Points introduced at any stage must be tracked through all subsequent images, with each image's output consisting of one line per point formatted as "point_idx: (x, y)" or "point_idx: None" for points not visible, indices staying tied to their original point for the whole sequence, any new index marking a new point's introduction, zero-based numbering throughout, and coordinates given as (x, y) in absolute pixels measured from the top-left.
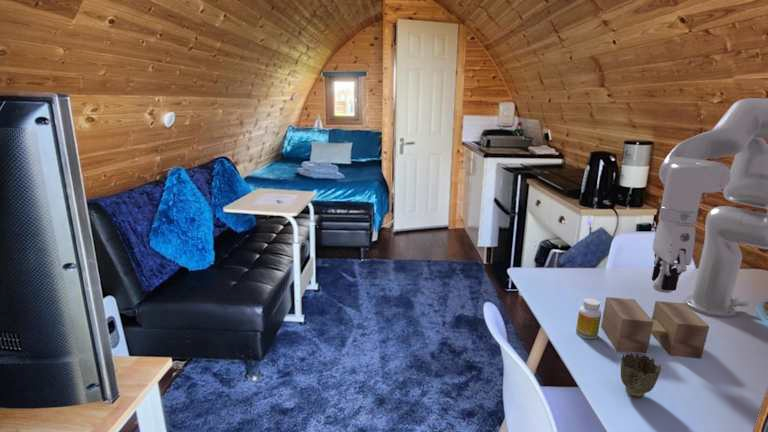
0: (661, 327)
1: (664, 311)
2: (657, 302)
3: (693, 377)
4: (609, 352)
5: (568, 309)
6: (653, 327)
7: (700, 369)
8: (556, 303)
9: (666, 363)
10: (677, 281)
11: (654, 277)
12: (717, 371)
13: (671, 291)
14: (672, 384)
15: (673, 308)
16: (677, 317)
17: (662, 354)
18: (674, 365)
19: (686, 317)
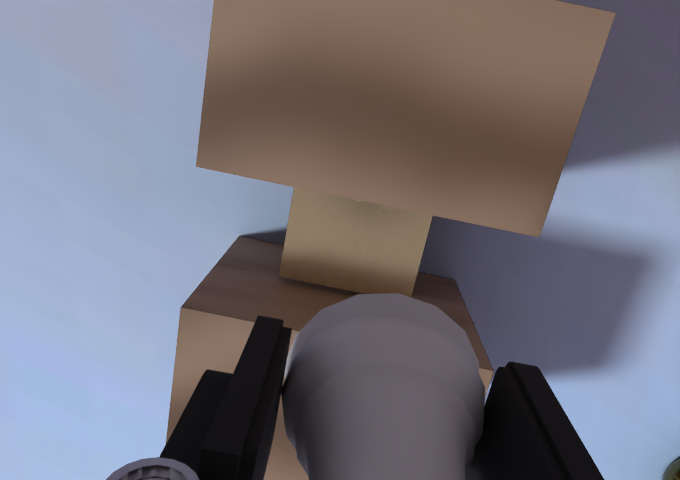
0: None
1: (349, 196)
2: (220, 167)
3: (651, 191)
4: None
5: (70, 409)
6: (386, 249)
7: (605, 111)
8: (17, 433)
9: (535, 240)
10: (583, 447)
11: (265, 466)
12: (636, 32)
13: (462, 337)
14: (672, 312)
15: (318, 105)
16: (458, 175)
17: None
18: (555, 214)
19: (465, 103)
